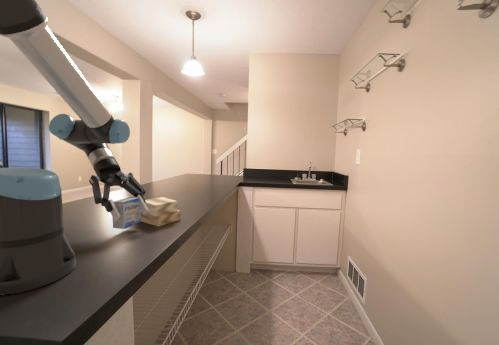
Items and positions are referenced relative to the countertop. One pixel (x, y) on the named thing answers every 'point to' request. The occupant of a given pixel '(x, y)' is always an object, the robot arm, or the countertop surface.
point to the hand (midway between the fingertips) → (132, 215)
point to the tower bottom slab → (160, 218)
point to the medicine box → (127, 212)
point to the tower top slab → (161, 206)
